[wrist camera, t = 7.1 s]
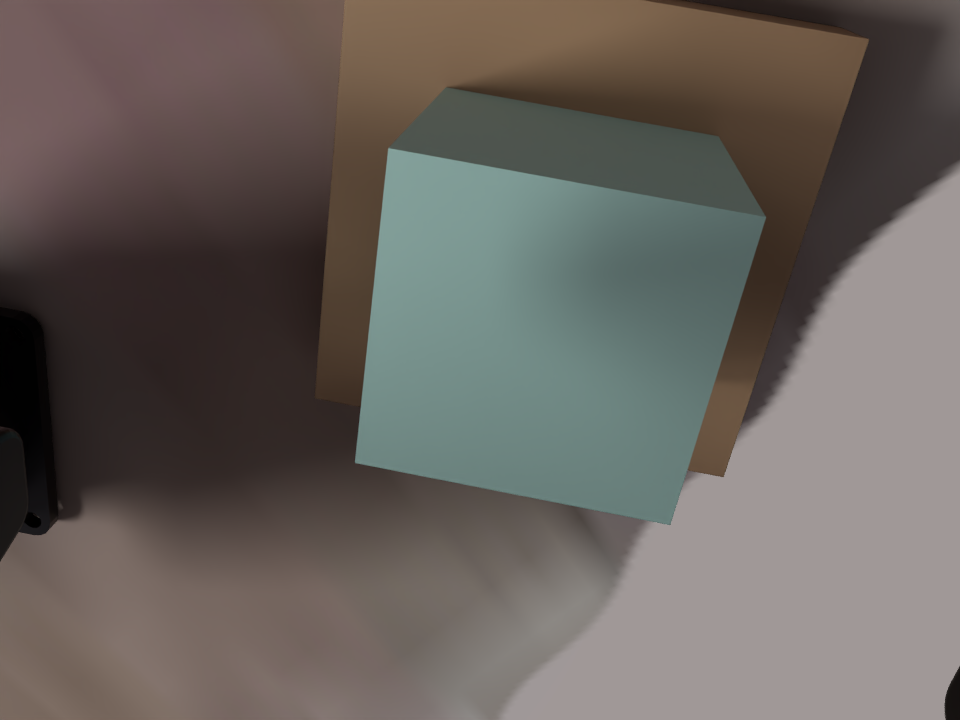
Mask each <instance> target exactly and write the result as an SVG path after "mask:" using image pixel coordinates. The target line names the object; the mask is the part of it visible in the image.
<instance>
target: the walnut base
mask: <svg viewBox="0 0 960 720" xmlns="http://www.w3.org/2000/svg"><path fill="white" fill-rule="evenodd" d="M868 42H869V39H867V38H865V37H862V36H860V35H857V34H855V33H853V32H850V31H848V30H845V29H843V28H840V27H834V26H829V25H823V24H817V23H811V22H805V21H800V20H794V19H788V18H782V17H776V16H771V15H765V14H759V13H753V12H747V11H742V10H736V9H730V8H724V7H718V6H713V5H707V4H701V3H695V2H689V1H684V0H345V7H344V20H343V33H342V46H341V59H340V72H339V85H338V98H337V111H336V125H335V138H334V151H333V164H332V177H331V190H330V203H329V216H328V230H327V243H326V256H325V269H324V282H323V295H322V308H321V321H320V335H319V348H318V361H317V374H316V387H315V398H316V399H321V400H326V401H332V402H337V403H342V404H347V405H352V406H357V407H361V401H362V391H363V382H364V373H365V363H366V354H367V344H368V335H369V325H370V316H371V307H372V297H373V288H374V278H375V269H376V259H377V250H378V241H379V231H380V222H381V212H382V203H383V193H384V184H385V175H386V165H387V156H388V148H389V147H390V146H391V145H392V144H393V143H394V142H395V141H396V139H397V138H398V137H399V136H400V135H401V134H402V133H403V132H404V131H405V130H406V129H407V128H408V127H409V126H410V125H411V124H412V123H413V122H414V120H415V119H416V118H417V117H418V116H419V115H420V114H421V113H422V112H423V111H424V110H425V109H426V108H427V107H428V106H429V105H430V104H431V103H432V102H433V100H434V99H435V98H436V97H437V96H438V95H439V94H440V93H441V92H442V91H443V90H444V89H445V88H446V87H447V88H453V89H459V90H464V91H470V92H475V93H481V94H486V95H492V96H497V97H503V98H509V99H514V100H520V101H525V102H531V103H536V104H542V105H547V106H553V107H559V108H564V109H570V110H575V111H581V112H586V113H592V114H597V115H603V116H609V117H614V118H620V119H625V120H631V121H636V122H642V123H647V124H653V125H659V126H664V127H670V128H675V129H681V130H686V131H692V132H697V133H703V134H709V135H714V136H719V138H720V140H721V141H722V143H723V145H724V147H725V148H726V150H727V152H728V153H729V155H730V157H731V158H732V160H733V162H734V164H735V165H736V167H737V169H738V170H739V172H740V174H741V175H742V177H743V179H744V181H745V182H746V184H747V186H748V187H749V189H750V191H751V192H752V194H753V196H754V198H755V199H756V201H757V203H758V204H759V206H760V208H761V209H762V211H763V213H764V215H765V216H766V219H765V222H764V226H763V229H762V232H761V235H760V238H759V242H758V245H757V248H756V251H755V254H754V258H753V261H752V264H751V267H750V271H749V274H748V277H747V280H746V283H745V287H744V290H743V293H742V296H741V299H740V303H739V306H738V309H737V312H736V315H735V319H734V322H733V325H732V328H731V332H730V335H729V338H728V341H727V344H726V348H725V351H724V354H723V357H722V360H721V364H720V367H719V370H718V373H717V376H716V380H715V383H714V386H713V389H712V392H711V396H710V399H709V402H708V405H707V409H706V412H705V415H704V418H703V421H702V425H701V428H700V431H699V434H698V437H697V441H696V444H695V447H694V450H693V453H692V457H691V460H690V463H689V466H688V470H689V471H694V472H699V473H705V474H710V475H715V476H720V477H724V473H725V471H726V468H727V465H728V462H729V459H730V456H731V453H732V450H733V447H734V444H735V441H736V438H737V435H738V432H739V429H740V426H741V423H742V420H743V417H744V414H745V411H746V408H747V405H748V402H749V399H750V396H751V393H752V390H753V387H754V384H755V381H756V378H757V375H758V372H759V369H760V366H761V363H762V360H763V357H764V354H765V351H766V348H767V345H768V342H769V339H770V336H771V333H772V330H773V327H774V324H775V321H776V318H777V315H778V312H779V309H780V306H781V303H782V300H783V297H784V294H785V291H786V288H787V285H788V282H789V279H790V276H791V273H792V270H793V267H794V264H795V261H796V258H797V255H798V252H799V249H800V246H801V243H802V240H803V237H804V234H805V231H806V228H807V225H808V222H809V219H810V216H811V213H812V210H813V207H814V204H815V201H816V198H817V195H818V192H819V189H820V186H821V183H822V180H823V177H824V174H825V171H826V168H827V165H828V162H829V159H830V156H831V153H832V150H833V147H834V144H835V141H836V138H837V135H838V132H839V129H840V126H841V123H842V120H843V117H844V114H845V111H846V108H847V105H848V102H849V99H850V96H851V93H852V90H853V87H854V84H855V81H856V78H857V75H858V72H859V69H860V66H861V63H862V60H863V57H864V54H865V51H866V48H867V45H868Z"/></svg>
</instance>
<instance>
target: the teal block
mask: <svg viewBox="0 0 960 720" xmlns="http://www.w3.org/2000/svg"><path fill="white" fill-rule="evenodd" d="M765 219H766V216H765V215H764V213H763V211H762V209H761V208H760V206H759V204H758V203H757V201H756V199H755V198H754V196H753V194H752V192H751V191H750V189H749V187H748V186H747V184H746V182H745V181H744V179H743V177H742V175H741V174H740V172H739V170H738V169H737V167H736V165H735V164H734V162H733V160H732V158H731V157H730V155H729V153H728V152H727V150H726V148H725V147H724V145H723V143H722V141H721V140H720V138H719V136H714V135H709V134H703V133H697V132H692V131H686V130H681V129H675V128H670V127H664V126H659V125H653V124H647V123H642V122H636V121H631V120H625V119H620V118H614V117H609V116H603V115H597V114H592V113H586V112H581V111H575V110H570V109H564V108H559V107H553V106H547V105H542V104H536V103H531V102H525V101H520V100H514V99H509V98H503V97H497V96H492V95H486V94H481V93H475V92H470V91H464V90H459V89H453V88H447V87H446V88H445V89H444V90H443V91H442V92H441V93H440V94H439V95H438V96H437V97H436V98H435V99H434V100H433V102H432V103H431V104H430V105H429V106H428V107H427V108H426V109H425V110H424V111H423V112H422V113H421V114H420V115H419V116H418V117H417V118H416V119H415V120H414V122H413V123H412V124H411V125H410V126H409V127H408V128H407V129H406V130H405V131H404V132H403V133H402V134H401V135H400V136H399V137H398V138H397V139H396V141H395V142H394V143H393V144H392V145H391V146H390V147H389V148H388V156H387V165H386V175H385V184H384V193H383V203H382V212H381V222H380V231H379V241H378V250H377V259H376V269H375V278H374V288H373V297H372V307H371V316H370V325H369V335H368V344H367V354H366V363H365V373H364V382H363V391H362V401H361V410H360V420H359V429H358V438H357V448H356V457H355V463H358V464H363V465H368V466H373V467H378V468H383V469H388V470H393V471H398V472H404V473H409V474H414V475H419V476H424V477H429V478H434V479H439V480H444V481H449V482H454V483H459V484H464V485H469V486H475V487H480V488H485V489H490V490H495V491H500V492H505V493H510V494H515V495H520V496H525V497H530V498H535V499H540V500H546V501H551V502H556V503H561V504H566V505H571V506H576V507H581V508H586V509H591V510H596V511H601V512H606V513H612V514H617V515H622V516H627V517H632V518H637V519H642V520H647V521H652V522H657V523H662V524H667V525H670V524H671V521H672V517H673V514H674V511H675V508H676V505H677V502H678V498H679V495H680V492H681V489H682V486H683V482H684V479H685V476H686V473H687V470H688V466H689V463H690V460H691V457H692V453H693V450H694V447H695V444H696V441H697V437H698V434H699V431H700V428H701V425H702V421H703V418H704V415H705V412H706V409H707V405H708V402H709V399H710V396H711V392H712V389H713V386H714V383H715V380H716V376H717V373H718V370H719V367H720V364H721V360H722V357H723V354H724V351H725V348H726V344H727V341H728V338H729V335H730V332H731V328H732V325H733V322H734V319H735V315H736V312H737V309H738V306H739V303H740V299H741V296H742V293H743V290H744V287H745V283H746V280H747V277H748V274H749V271H750V267H751V264H752V261H753V258H754V254H755V251H756V248H757V245H758V242H759V238H760V235H761V232H762V229H763V226H764V222H765Z"/></svg>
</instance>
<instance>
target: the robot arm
mask: <svg viewBox="0 0 960 720" xmlns="http://www.w3.org/2000/svg"><path fill="white" fill-rule="evenodd" d="M14 328H17V329H19V330H20V331H21V332H22V333H23V336H24V338H25V339H23V338H20V337H19V336H18V335H17V334H16V333H15V330H14ZM33 513H34V514H36V515H37V516H38V517H39V518H38V517H36V516H35V515H34V514H33ZM57 519H58V506H57V494H56V481H55V469H54V457H53V444H52V432H51V419H50V407H49V395H48V382H47V370H46V357H45V345H44V333H43V330H42V326H41V325H40V324H39V322H38V321H37V319H35V318H34V317H33V316H31V315H30V314H28V313H25V312H22V311H18V310H12V309H7V308H2V307H0V561H1V559H2V558H3V556H4V555H5V553H6V551H7V550H8V548H9V547H10V545H11V543H12V542H13V540H14V538H15V537H16V535H17V534H18V532H22V533H27V534H32V535H42V534H45V533H46V532H47V531H48V530H49V529H50V528H51V527H52V526H53V525H54V523H55V522H56V521H57ZM945 718H946V720H960V667H959V669H958V670H957V672H956V674H955V676H954V678H953V680H952V681H951V683H950V686H949V687H948V690H947V694H946V697H945Z"/></svg>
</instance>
